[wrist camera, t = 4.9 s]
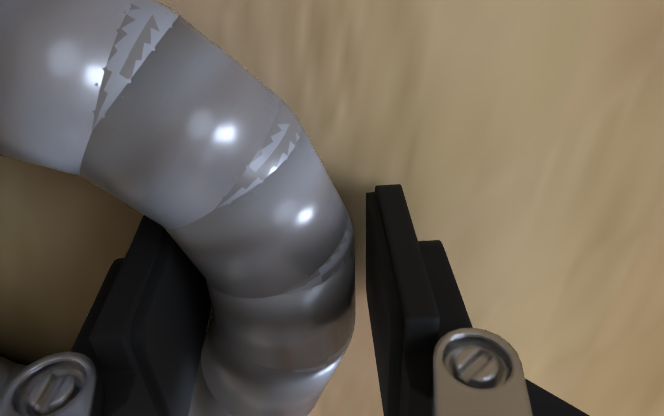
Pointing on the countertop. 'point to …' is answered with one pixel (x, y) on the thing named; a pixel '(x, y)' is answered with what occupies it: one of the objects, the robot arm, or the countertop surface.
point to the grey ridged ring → (192, 184)
